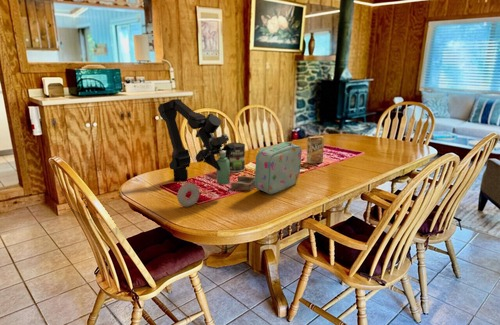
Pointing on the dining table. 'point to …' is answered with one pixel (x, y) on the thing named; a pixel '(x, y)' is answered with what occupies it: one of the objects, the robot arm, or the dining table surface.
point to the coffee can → (237, 158)
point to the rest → (244, 183)
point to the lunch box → (277, 167)
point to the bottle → (223, 169)
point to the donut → (193, 197)
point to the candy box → (315, 149)
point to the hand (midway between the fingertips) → (225, 168)
